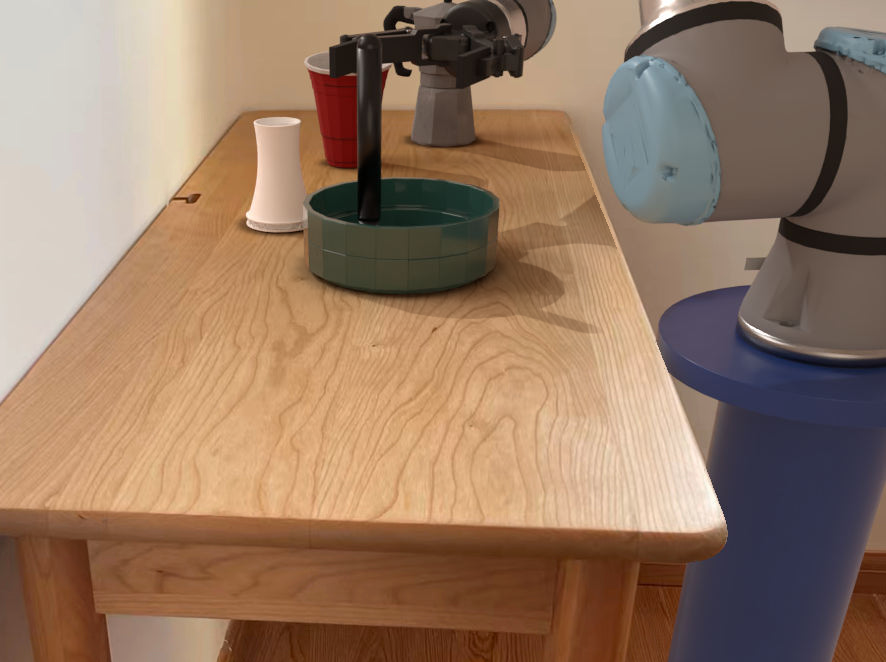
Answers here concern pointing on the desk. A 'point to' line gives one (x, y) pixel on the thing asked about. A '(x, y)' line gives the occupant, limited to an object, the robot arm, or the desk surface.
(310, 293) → the desk surface
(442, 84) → the coffeepot
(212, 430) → the desk surface
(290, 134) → the vase
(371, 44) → the black stick
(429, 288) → the bowl
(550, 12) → the robot arm
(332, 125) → the plastic cup
